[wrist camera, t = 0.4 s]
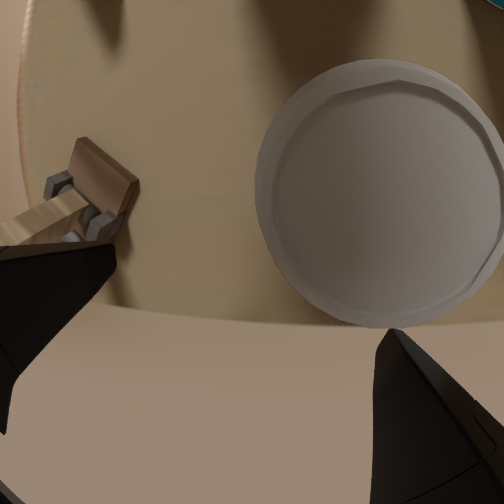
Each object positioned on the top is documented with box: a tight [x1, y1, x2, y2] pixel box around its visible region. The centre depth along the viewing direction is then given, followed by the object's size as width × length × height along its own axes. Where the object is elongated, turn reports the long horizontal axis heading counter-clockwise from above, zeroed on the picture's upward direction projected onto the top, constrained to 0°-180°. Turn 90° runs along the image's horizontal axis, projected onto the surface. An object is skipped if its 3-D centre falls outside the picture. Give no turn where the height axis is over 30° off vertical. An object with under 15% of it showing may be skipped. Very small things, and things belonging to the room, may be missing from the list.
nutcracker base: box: [43, 137, 139, 243], centre depth 24 cm, size 14×8×6 cm, turn 145°
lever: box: [0, 184, 101, 246], centre depth 17 cm, size 4×4×17 cm
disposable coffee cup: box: [255, 59, 504, 328], centre depth 13 cm, size 10×10×12 cm
